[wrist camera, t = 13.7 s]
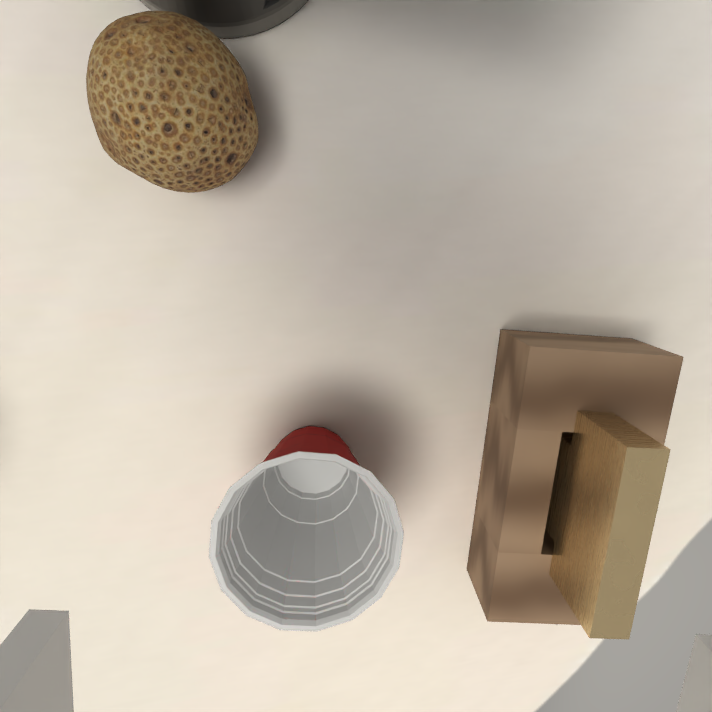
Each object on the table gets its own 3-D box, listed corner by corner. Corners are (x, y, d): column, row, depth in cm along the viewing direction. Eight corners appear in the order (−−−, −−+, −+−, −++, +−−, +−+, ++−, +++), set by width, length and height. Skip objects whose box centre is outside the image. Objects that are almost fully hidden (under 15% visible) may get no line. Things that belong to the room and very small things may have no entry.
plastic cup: (413, 449, 41) (446, 536, 29) (324, 546, 43) (320, 665, 31) (304, 361, 39) (292, 416, 27) (214, 467, 41) (167, 561, 29)
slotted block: (500, 329, 39) (529, 346, 33) (631, 338, 40) (683, 356, 34) (466, 569, 44) (487, 621, 38) (585, 574, 44) (623, 626, 38)
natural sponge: (294, 111, 35) (279, 64, 25) (223, 225, 37) (183, 222, 27) (173, 22, 34) (108, -63, 24) (104, 145, 35) (17, 111, 25)
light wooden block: (546, 388, 39) (627, 447, 28) (578, 390, 39) (670, 449, 29) (523, 534, 42) (589, 638, 31) (553, 535, 42) (629, 639, 31)
